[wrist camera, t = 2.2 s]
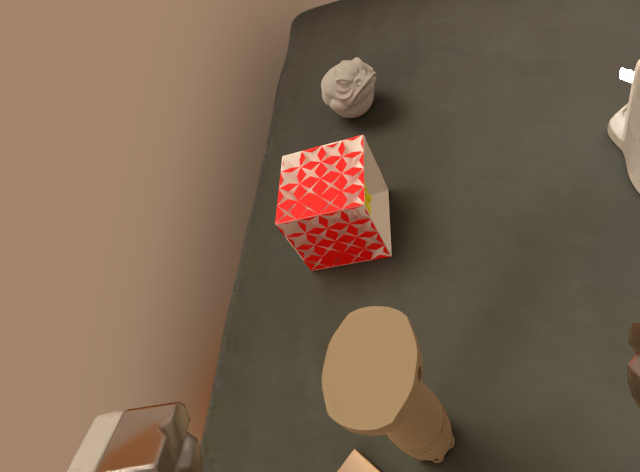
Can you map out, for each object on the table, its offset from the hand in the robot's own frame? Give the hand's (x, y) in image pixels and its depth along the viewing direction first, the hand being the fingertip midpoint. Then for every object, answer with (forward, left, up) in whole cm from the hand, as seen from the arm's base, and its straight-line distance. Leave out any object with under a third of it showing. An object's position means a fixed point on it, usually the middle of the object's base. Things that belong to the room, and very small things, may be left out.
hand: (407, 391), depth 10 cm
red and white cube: (-12, -27, -30) cm, 42 cm away
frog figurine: (-25, -37, -30) cm, 54 cm away
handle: (-1, -9, -30) cm, 31 cm away
